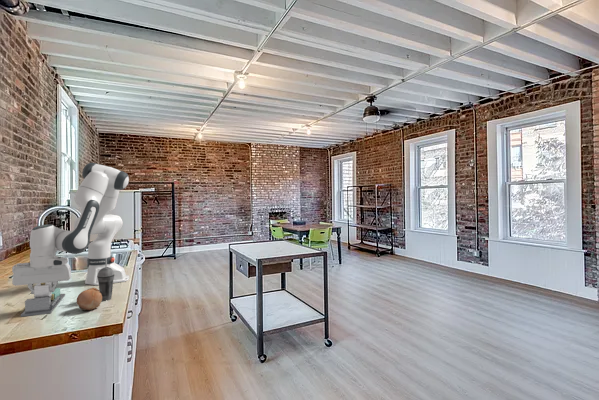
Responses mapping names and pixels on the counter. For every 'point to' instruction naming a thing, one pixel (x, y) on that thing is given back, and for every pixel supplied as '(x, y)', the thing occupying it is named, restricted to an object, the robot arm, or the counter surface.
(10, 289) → the counter surface
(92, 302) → the onion
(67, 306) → the counter surface
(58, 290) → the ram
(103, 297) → the beverage cup
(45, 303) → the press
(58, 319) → the counter surface
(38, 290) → the housing
